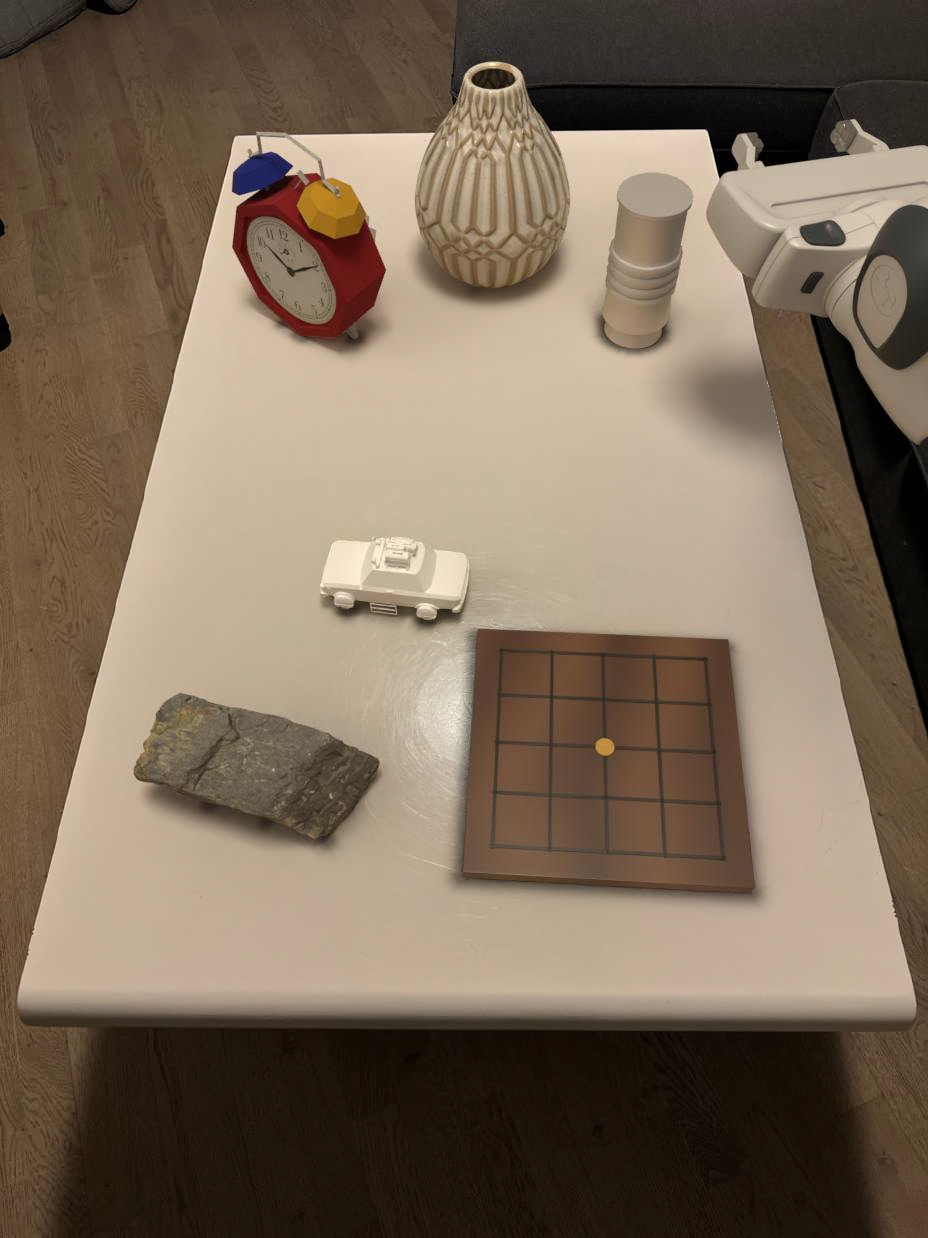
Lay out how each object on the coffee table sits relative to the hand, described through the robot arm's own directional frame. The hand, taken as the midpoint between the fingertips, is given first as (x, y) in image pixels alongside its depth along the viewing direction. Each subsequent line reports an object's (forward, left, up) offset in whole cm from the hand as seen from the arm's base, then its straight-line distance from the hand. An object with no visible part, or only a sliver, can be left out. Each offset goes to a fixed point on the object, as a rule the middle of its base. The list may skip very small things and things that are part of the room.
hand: (792, 133), depth 77 cm
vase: (+25, -12, -22) cm, 35 cm away
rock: (+39, +50, -22) cm, 67 cm away
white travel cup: (+10, -2, -22) cm, 24 cm away
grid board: (+14, +46, -22) cm, 53 cm away
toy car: (+31, +32, -22) cm, 50 cm away
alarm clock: (+42, -3, -22) cm, 47 cm away
